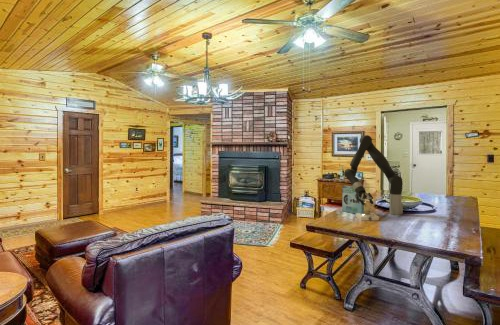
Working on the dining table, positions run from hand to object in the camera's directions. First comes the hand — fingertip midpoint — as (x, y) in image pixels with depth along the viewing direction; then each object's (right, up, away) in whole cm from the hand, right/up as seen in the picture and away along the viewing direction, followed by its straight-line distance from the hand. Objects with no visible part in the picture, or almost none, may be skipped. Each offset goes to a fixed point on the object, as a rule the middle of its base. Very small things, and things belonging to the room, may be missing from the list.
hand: (368, 204), depth 235 cm
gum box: (-4, -11, +22) cm, 25 cm away
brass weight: (0, -8, +2) cm, 8 cm away
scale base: (0, -12, +2) cm, 12 cm away
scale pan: (0, -9, +2) cm, 9 cm away
